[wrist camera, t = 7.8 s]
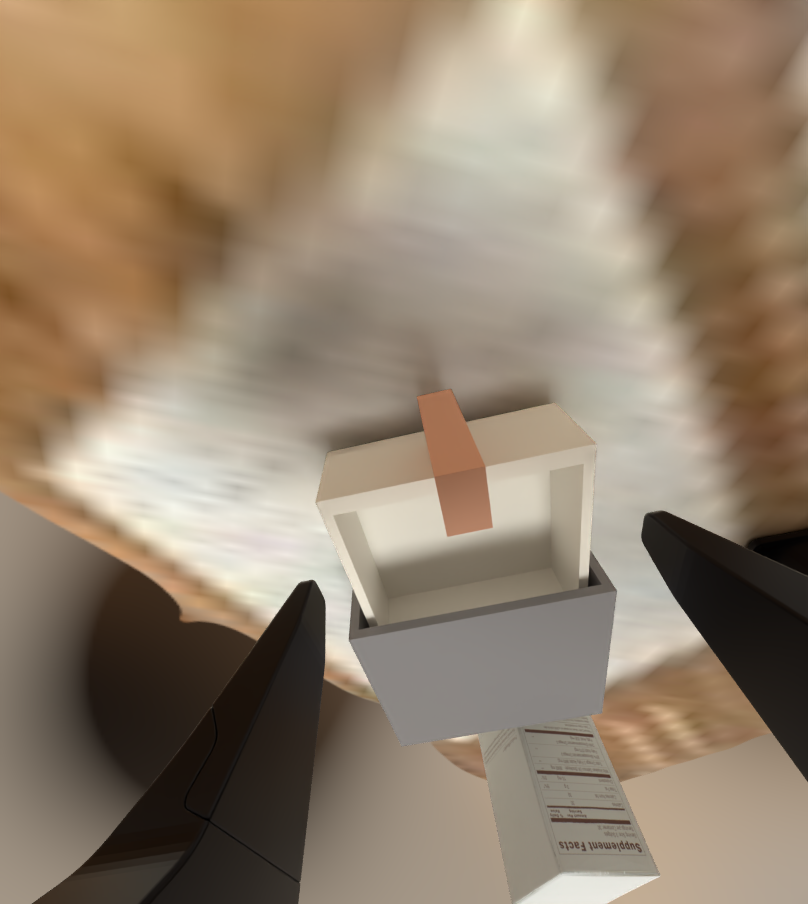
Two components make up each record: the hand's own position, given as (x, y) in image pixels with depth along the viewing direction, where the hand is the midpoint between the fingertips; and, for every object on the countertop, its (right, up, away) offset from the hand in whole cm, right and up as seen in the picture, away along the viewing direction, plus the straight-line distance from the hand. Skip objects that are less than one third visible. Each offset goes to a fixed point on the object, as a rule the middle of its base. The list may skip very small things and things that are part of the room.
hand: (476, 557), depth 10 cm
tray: (+1, 0, +12) cm, 12 cm away
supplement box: (+9, -19, +25) cm, 33 cm away
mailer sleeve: (+3, -8, +18) cm, 20 cm away
